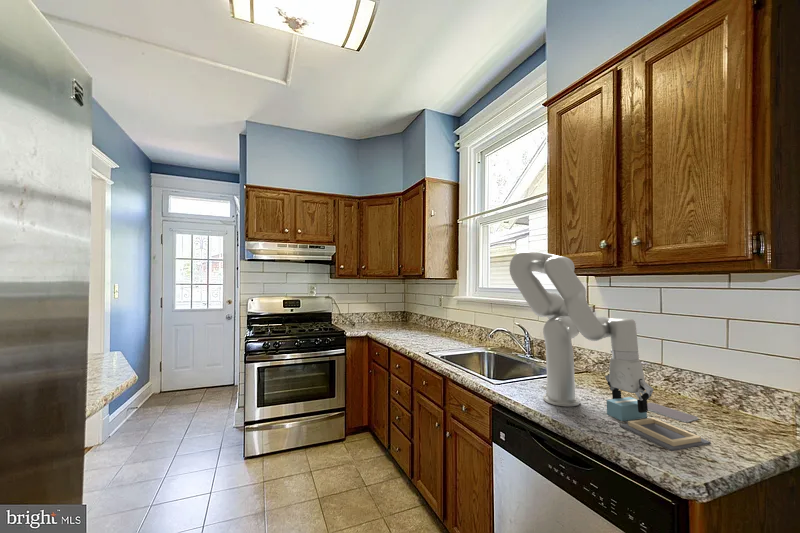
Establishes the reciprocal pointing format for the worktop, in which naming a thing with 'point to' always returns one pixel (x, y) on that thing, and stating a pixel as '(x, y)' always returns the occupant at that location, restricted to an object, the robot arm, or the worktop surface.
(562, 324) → the robot arm
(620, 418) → the card box
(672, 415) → the smartphone
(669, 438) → the mat
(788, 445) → the worktop surface
